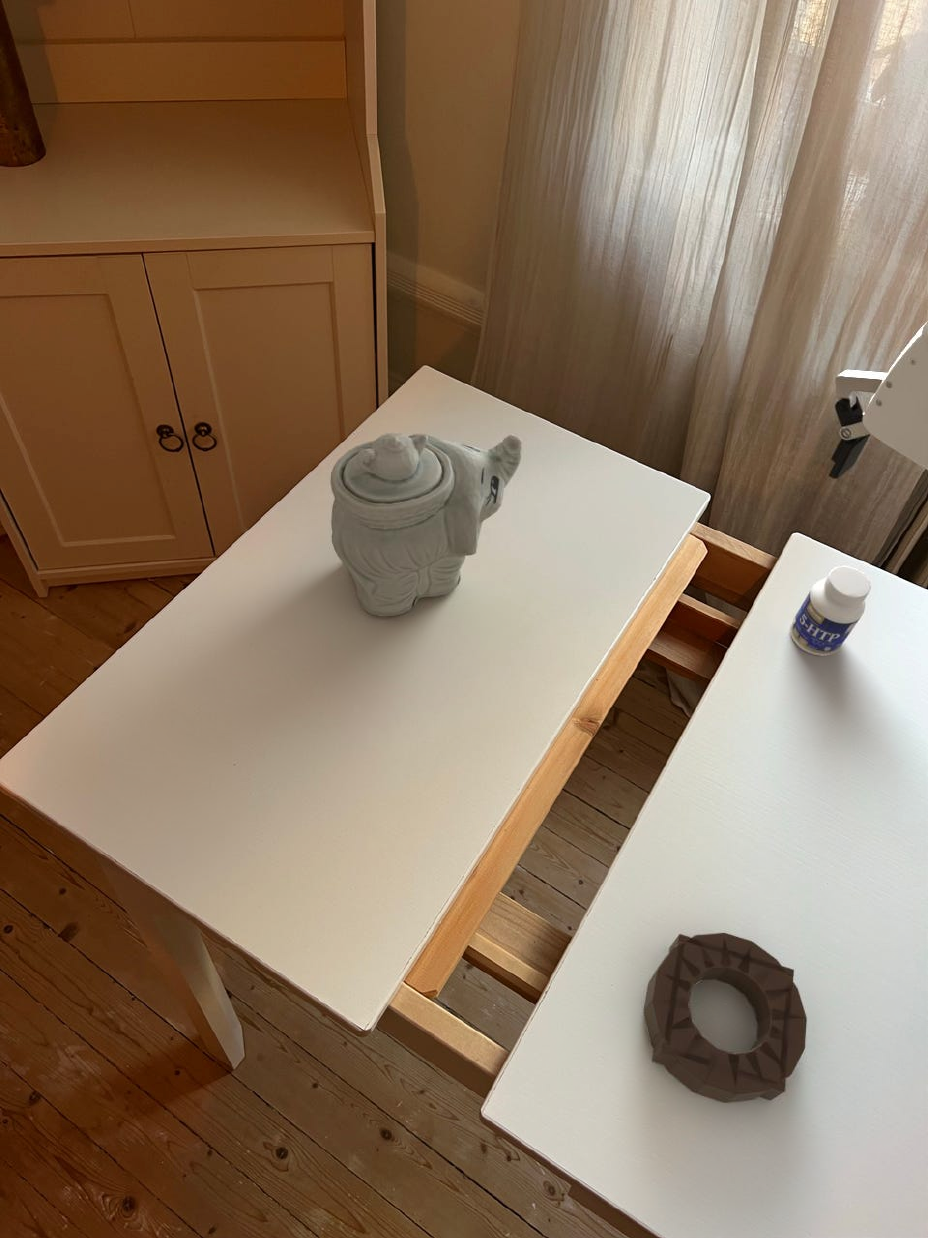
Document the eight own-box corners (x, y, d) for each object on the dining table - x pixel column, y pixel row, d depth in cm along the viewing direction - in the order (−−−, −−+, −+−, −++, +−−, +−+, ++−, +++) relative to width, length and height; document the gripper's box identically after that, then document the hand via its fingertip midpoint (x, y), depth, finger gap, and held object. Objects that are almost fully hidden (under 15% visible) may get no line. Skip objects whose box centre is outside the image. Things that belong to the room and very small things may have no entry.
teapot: (508, 533, 103) (533, 394, 88) (484, 644, 93) (508, 509, 79) (358, 504, 103) (357, 361, 89) (320, 611, 94) (313, 472, 79)
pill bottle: (780, 639, 97) (813, 583, 90) (800, 607, 100) (833, 551, 93) (829, 666, 95) (866, 611, 88) (848, 633, 98) (885, 577, 91)
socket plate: (657, 927, 78) (666, 914, 75) (796, 971, 76) (810, 959, 74) (632, 1073, 71) (642, 1063, 68) (785, 1123, 70) (800, 1115, 67)
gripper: (1127, 374, 67) (999, 539, 81) (911, 260, 74) (827, 430, 87) (1082, 418, 63) (956, 583, 77) (860, 295, 70) (780, 466, 84)
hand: (887, 501), depth 82 cm, fingers open, 9 cm apart
